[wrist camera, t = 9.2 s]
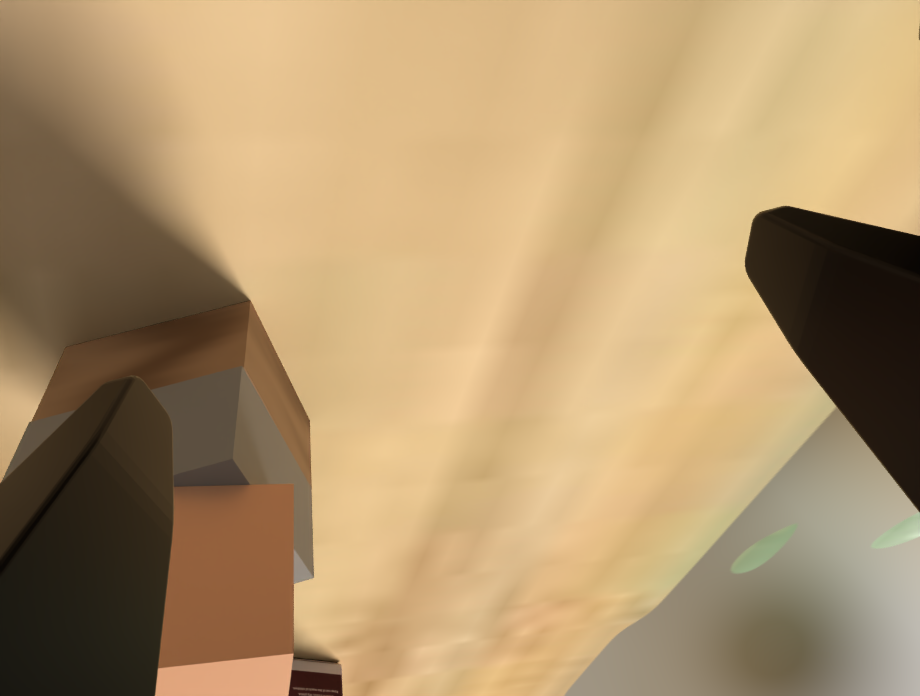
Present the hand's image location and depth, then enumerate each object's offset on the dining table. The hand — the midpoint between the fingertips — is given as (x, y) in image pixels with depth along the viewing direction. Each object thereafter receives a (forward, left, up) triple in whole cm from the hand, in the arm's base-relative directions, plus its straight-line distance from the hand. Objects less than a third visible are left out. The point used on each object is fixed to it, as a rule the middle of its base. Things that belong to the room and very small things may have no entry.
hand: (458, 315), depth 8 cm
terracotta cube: (+9, +10, -5) cm, 14 cm away
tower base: (+10, +11, -13) cm, 19 cm away
